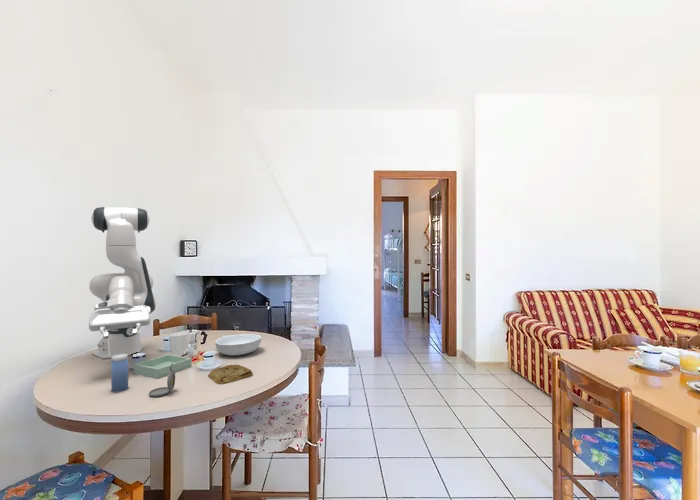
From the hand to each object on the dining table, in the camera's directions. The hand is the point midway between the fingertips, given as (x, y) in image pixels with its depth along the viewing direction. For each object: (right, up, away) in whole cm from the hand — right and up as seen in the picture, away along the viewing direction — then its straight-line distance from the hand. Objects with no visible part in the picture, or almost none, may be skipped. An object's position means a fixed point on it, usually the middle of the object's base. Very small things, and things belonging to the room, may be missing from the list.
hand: (120, 336), depth 133 cm
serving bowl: (+35, -16, +32) cm, 50 cm away
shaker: (+7, -16, -11) cm, 21 cm away
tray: (+11, -16, +10) cm, 22 cm away
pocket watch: (+25, -16, -15) cm, 33 cm away
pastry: (+42, -16, +1) cm, 45 cm away
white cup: (+7, -17, +31) cm, 36 cm away
